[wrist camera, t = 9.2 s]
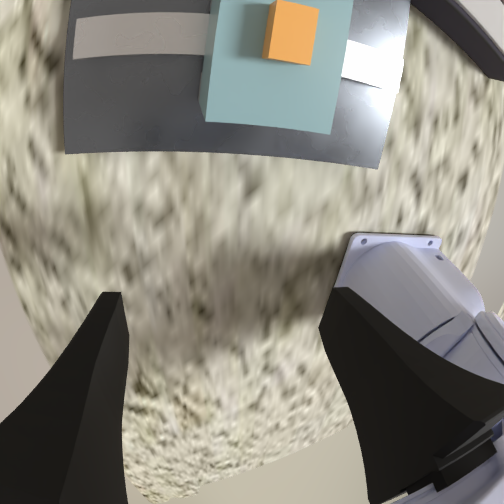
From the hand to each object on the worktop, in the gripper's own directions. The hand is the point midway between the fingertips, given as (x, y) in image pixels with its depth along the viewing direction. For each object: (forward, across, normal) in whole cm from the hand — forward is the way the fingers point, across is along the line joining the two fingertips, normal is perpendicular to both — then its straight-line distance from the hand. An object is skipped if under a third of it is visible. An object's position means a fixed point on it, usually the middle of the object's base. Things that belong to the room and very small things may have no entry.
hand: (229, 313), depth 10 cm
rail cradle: (+9, -1, -9) cm, 13 cm away
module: (+8, -1, -9) cm, 12 cm away
